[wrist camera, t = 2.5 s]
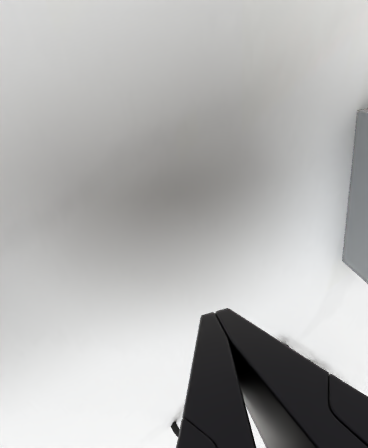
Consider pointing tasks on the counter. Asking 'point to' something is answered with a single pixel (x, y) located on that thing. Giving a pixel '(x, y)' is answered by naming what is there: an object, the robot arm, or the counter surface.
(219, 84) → the counter surface
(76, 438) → the counter surface
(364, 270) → the tile
